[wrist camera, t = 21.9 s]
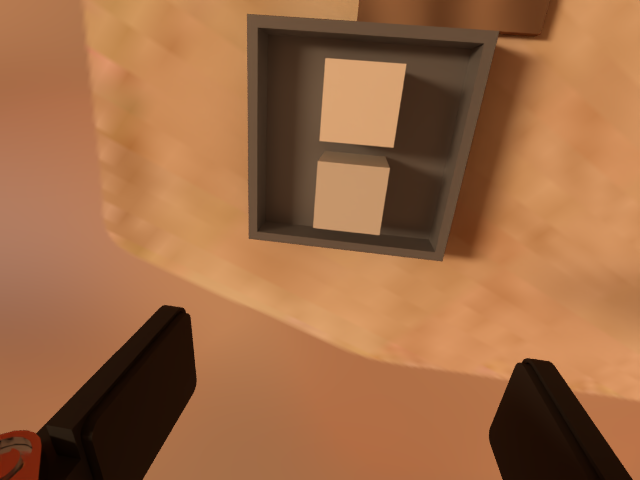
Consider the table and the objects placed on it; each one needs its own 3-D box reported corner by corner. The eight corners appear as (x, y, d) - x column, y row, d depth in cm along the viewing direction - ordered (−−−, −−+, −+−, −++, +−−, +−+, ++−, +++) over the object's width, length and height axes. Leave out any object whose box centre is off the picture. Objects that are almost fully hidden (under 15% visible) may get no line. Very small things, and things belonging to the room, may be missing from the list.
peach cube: (398, 70, 28) (406, 64, 23) (388, 139, 30) (393, 147, 25) (331, 65, 28) (325, 58, 23) (326, 133, 30) (319, 140, 25)
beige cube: (385, 156, 30) (389, 168, 25) (376, 213, 33) (379, 235, 28) (324, 150, 31) (317, 161, 26) (320, 208, 33) (313, 227, 28)
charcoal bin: (480, 39, 27) (499, 30, 23) (433, 243, 34) (442, 261, 31) (261, 24, 28) (247, 13, 25) (260, 224, 36) (248, 238, 32)
